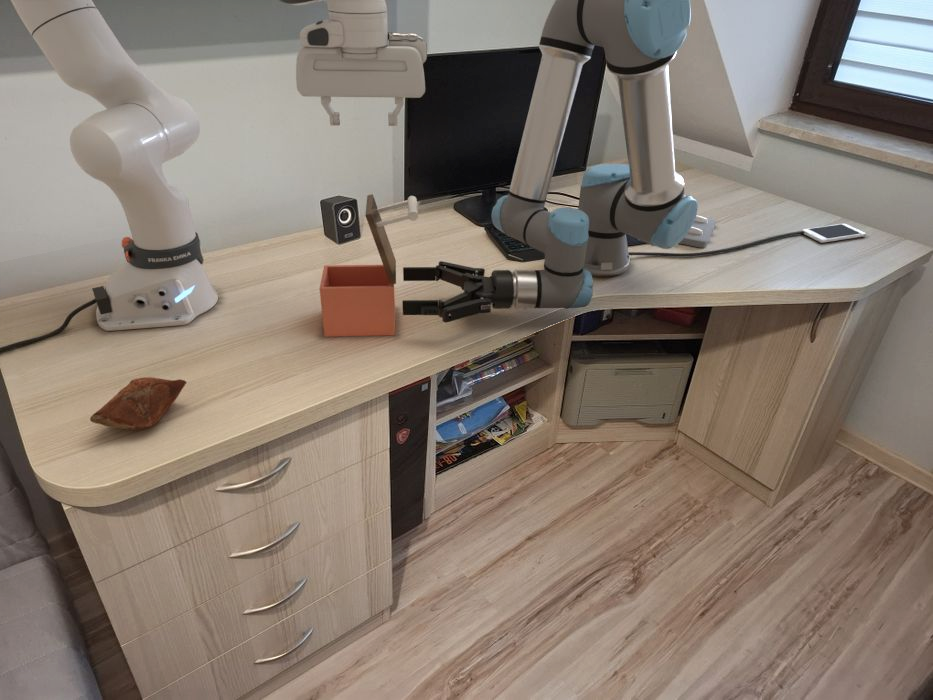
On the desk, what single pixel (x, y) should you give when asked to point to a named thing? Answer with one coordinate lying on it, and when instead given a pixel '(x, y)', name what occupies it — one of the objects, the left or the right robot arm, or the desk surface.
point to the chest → (357, 301)
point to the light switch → (699, 232)
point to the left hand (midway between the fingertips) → (364, 124)
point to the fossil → (139, 403)
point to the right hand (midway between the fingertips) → (402, 290)
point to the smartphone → (833, 233)
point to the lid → (380, 233)
